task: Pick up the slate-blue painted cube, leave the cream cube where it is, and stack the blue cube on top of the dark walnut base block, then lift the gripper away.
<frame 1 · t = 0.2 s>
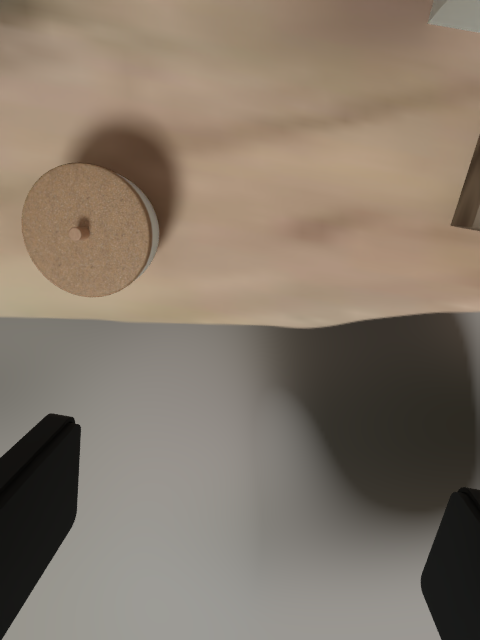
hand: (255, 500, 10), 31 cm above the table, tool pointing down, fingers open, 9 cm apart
lidded jar: (120, 228, 39), on the table
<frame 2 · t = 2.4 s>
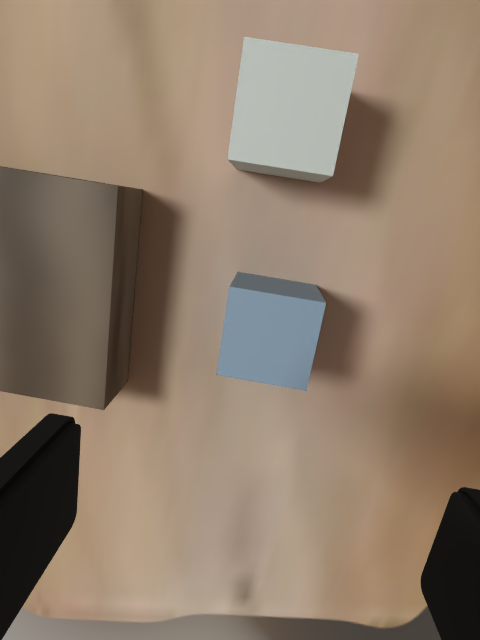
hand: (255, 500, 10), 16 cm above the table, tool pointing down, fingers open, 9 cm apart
walnut base block: (60, 279, 26), on the table
slate blue block: (269, 315, 25), on the table
cream block: (286, 130, 22), on the table
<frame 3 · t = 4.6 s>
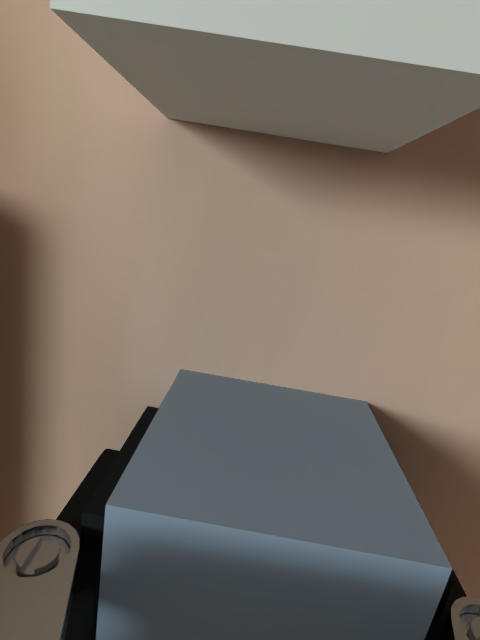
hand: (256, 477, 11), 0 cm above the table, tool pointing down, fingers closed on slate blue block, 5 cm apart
slate blue block: (257, 464, 11), on the table, touching gripper
cream block: (298, 6, 8), on the table
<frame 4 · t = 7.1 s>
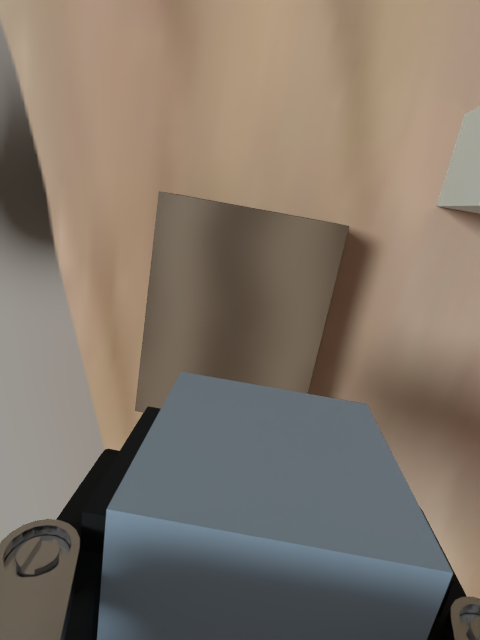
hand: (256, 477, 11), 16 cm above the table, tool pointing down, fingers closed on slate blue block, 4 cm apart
walnut base block: (238, 309, 26), on the table
slate blue block: (257, 467, 11), point 15 cm above the table, touching gripper
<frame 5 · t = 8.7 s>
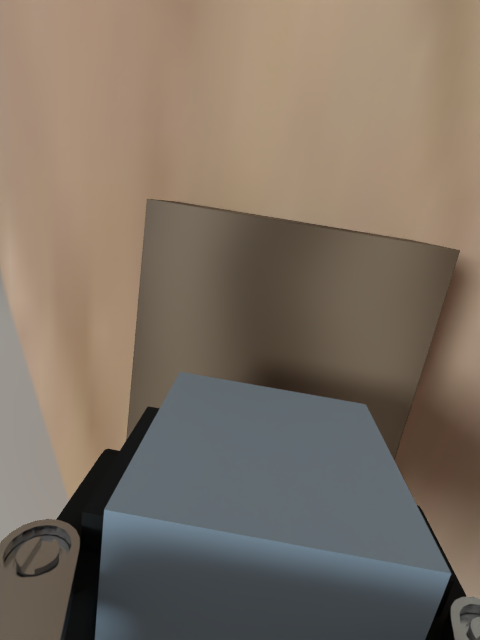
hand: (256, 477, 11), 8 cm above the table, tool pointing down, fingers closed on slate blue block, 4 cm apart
walnut base block: (267, 364, 18), on the table
slate blue block: (256, 467, 11), point 7 cm above the table, touching gripper
when the fingers open (6 cm above the table, at t = 9.9 s): slate blue block drops 1 cm, resting on walnut base block.
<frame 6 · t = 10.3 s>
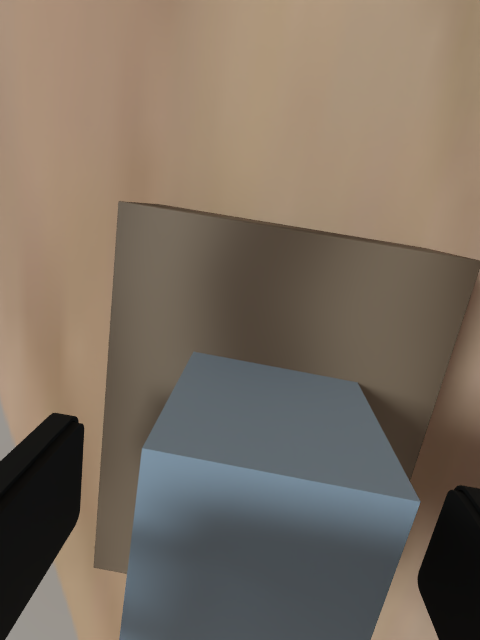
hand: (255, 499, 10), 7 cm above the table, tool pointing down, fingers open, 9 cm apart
walnut base block: (260, 384, 16), on the table
slate blue block: (259, 438, 12), point 4 cm above the table, touching walnut base block
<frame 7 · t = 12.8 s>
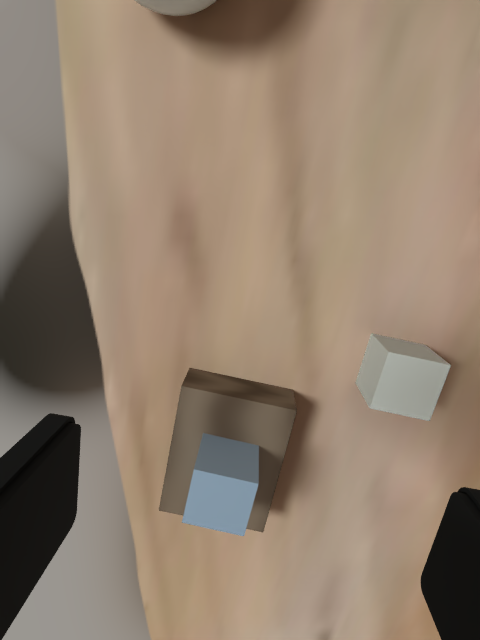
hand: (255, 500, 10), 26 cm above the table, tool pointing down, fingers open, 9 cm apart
walnut base block: (227, 437, 39), on the table
slate blue block: (225, 463, 35), point 4 cm above the table, touching walnut base block
cream block: (389, 363, 36), on the table
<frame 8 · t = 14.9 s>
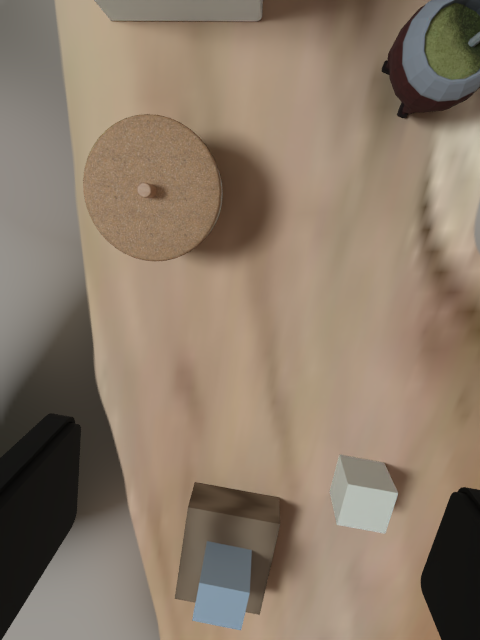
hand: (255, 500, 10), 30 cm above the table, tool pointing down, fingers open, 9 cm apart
walnut base block: (228, 534, 47), on the table
lidded jar: (174, 195, 37), on the table
mate gourd: (420, 75, 33), on the table
slate blue block: (225, 563, 43), point 4 cm above the table, touching walnut base block
cream block: (356, 476, 44), on the table
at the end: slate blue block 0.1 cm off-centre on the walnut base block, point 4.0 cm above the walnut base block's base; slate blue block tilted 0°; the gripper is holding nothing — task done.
